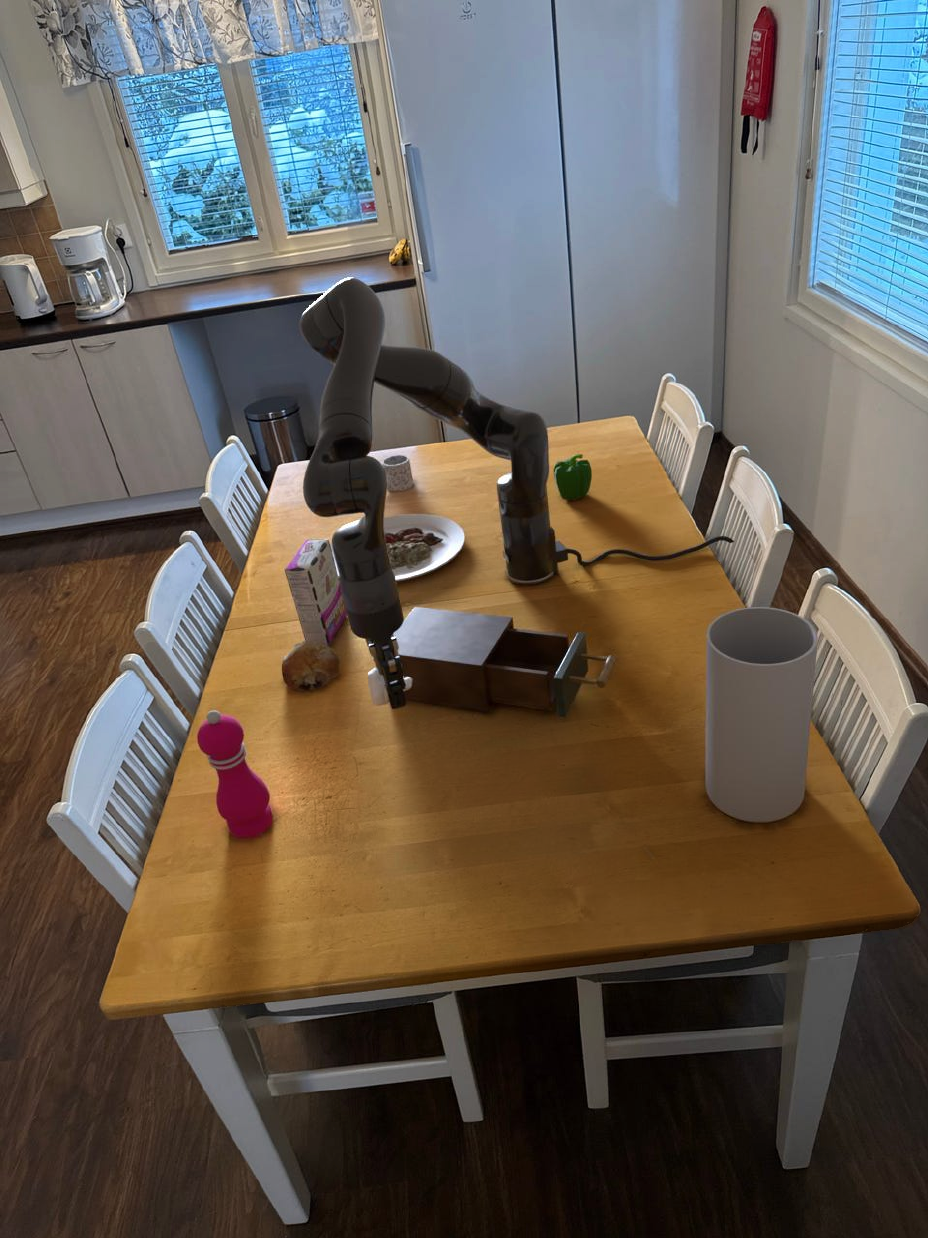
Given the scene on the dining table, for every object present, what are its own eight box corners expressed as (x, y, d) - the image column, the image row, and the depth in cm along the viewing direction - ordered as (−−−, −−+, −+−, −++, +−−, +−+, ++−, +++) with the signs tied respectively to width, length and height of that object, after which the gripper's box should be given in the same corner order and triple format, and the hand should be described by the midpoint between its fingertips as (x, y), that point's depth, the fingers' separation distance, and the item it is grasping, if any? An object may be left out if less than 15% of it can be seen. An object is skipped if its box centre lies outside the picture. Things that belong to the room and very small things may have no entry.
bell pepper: (548, 501, 205) (544, 459, 199) (566, 486, 210) (563, 445, 205) (581, 506, 200) (578, 464, 195) (598, 491, 206) (596, 449, 200)
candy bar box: (324, 613, 176) (305, 538, 167) (348, 613, 174) (330, 537, 166) (304, 646, 166) (282, 568, 158) (329, 646, 165) (309, 568, 157)
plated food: (437, 593, 176) (434, 578, 174) (301, 585, 186) (297, 571, 185) (484, 523, 200) (482, 509, 198) (361, 519, 210) (358, 506, 208)
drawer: (623, 674, 145) (621, 635, 141) (602, 723, 135) (599, 683, 131) (493, 658, 154) (488, 621, 150) (464, 703, 144) (458, 665, 140)
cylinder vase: (698, 816, 118) (698, 659, 105) (713, 754, 128) (715, 603, 115) (799, 833, 114) (813, 671, 101) (807, 767, 123) (821, 611, 110)
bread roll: (350, 684, 161) (350, 639, 159) (321, 696, 151) (321, 648, 150) (301, 679, 164) (300, 635, 163) (269, 690, 154) (269, 644, 153)
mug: (402, 477, 228) (397, 452, 224) (418, 483, 223) (414, 458, 220) (370, 492, 222) (365, 467, 219) (387, 498, 218) (382, 472, 214)
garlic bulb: (415, 706, 130) (409, 676, 128) (374, 713, 131) (367, 683, 128) (414, 684, 135) (408, 654, 132) (374, 691, 135) (367, 661, 132)
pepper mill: (229, 809, 132) (189, 699, 121) (279, 801, 132) (242, 691, 121) (222, 845, 126) (179, 733, 115) (274, 837, 126) (235, 724, 115)
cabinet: (518, 663, 153) (512, 617, 148) (488, 714, 142) (481, 665, 138) (423, 651, 160) (414, 606, 155) (388, 698, 149) (378, 652, 145)
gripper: (410, 614, 119) (431, 715, 128) (385, 566, 131) (406, 662, 140) (355, 630, 117) (379, 731, 126) (335, 580, 129) (359, 676, 138)
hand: (393, 694), depth 133 cm, fingers closed on garlic bulb, 5 cm apart
